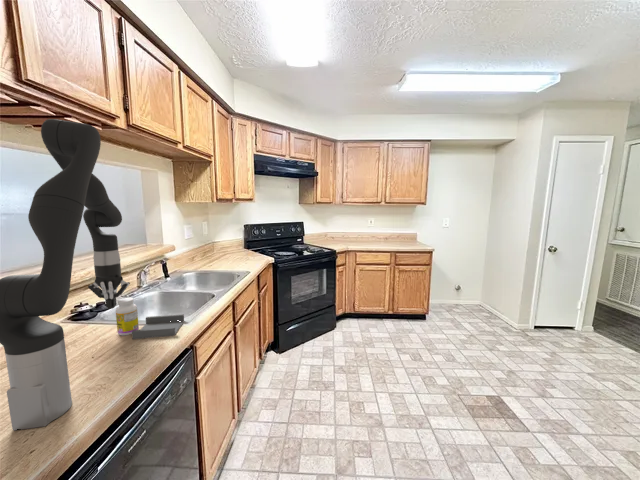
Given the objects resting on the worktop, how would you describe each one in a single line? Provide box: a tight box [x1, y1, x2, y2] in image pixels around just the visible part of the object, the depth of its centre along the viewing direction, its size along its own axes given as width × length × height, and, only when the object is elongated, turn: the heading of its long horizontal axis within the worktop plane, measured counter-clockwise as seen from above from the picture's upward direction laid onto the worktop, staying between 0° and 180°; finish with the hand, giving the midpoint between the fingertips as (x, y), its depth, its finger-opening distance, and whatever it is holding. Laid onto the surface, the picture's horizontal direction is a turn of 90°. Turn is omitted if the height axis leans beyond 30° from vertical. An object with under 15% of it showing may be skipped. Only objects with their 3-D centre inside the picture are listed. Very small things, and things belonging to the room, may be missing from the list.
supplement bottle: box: [115, 297, 140, 336], centre depth 102 cm, size 7×7×13 cm
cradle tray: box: [131, 313, 185, 340], centre depth 105 cm, size 13×14×3 cm
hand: (111, 307), depth 100 cm, fingers closed
